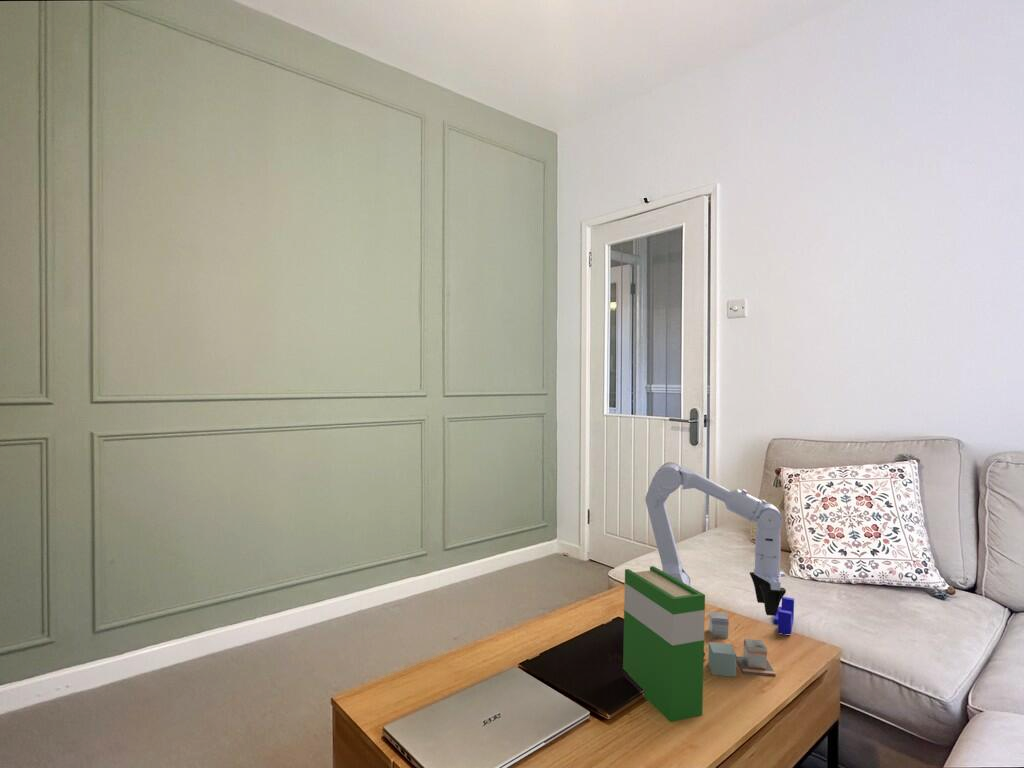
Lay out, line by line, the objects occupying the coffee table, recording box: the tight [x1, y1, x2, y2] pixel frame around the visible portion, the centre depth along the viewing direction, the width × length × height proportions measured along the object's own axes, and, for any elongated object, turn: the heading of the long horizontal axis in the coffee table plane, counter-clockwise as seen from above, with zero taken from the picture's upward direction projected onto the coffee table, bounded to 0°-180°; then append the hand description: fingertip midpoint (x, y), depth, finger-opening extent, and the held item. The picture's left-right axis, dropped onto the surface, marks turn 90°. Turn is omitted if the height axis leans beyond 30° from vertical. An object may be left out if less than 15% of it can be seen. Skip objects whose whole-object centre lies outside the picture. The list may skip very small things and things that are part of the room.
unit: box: [707, 641, 737, 677], centre depth 130 cm, size 5×5×5 cm
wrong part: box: [708, 611, 730, 639], centre depth 148 cm, size 4×4×5 cm
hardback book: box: [622, 565, 706, 723], centre depth 119 cm, size 18×7×24 cm, turn 20°
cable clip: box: [773, 596, 795, 635], centre depth 154 cm, size 12×4×6 cm, turn 150°
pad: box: [736, 655, 776, 677], centre depth 132 cm, size 7×7×1 cm
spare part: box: [743, 638, 768, 670], centre depth 132 cm, size 4×4×5 cm
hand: (766, 608), depth 141 cm, fingers open, 7 cm apart
